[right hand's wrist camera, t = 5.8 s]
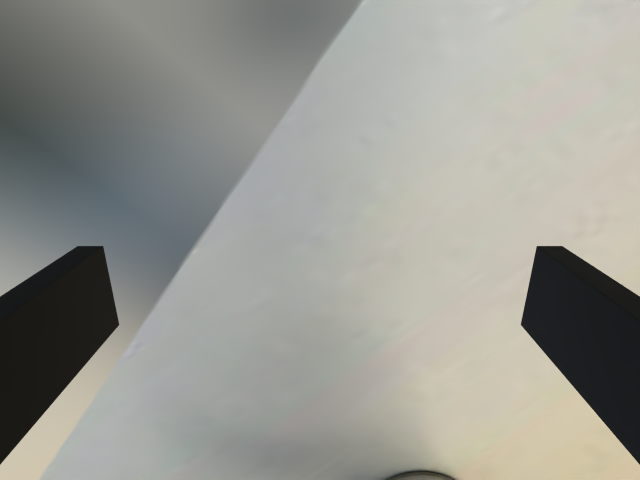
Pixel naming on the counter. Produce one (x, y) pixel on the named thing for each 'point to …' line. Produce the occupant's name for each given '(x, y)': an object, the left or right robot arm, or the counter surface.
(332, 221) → the counter surface
